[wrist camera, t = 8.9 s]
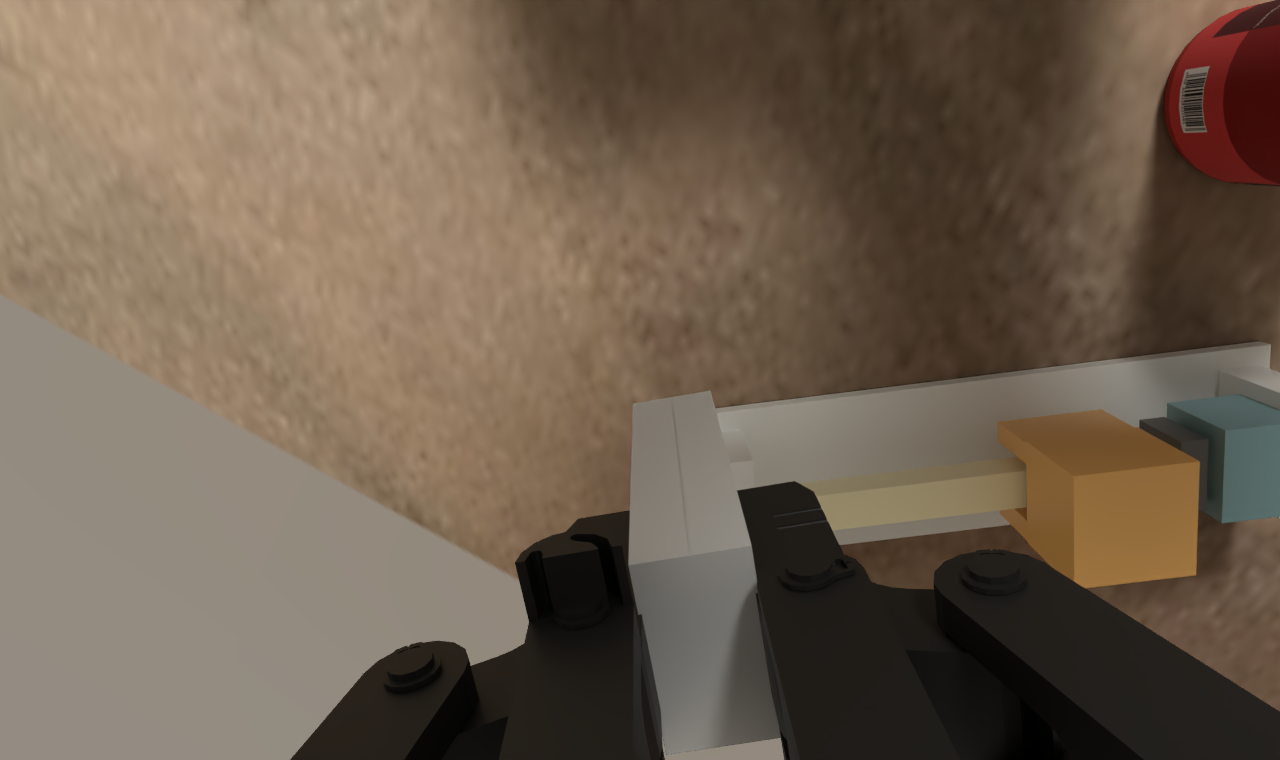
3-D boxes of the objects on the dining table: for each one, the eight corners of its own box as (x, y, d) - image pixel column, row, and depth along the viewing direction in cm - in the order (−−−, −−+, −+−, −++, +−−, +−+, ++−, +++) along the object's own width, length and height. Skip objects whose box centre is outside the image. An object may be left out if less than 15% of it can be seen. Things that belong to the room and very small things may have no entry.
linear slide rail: (688, 411, 46) (697, 455, 39) (1259, 341, 45) (1367, 373, 38) (704, 554, 48) (716, 619, 41) (1252, 488, 47) (1353, 544, 40)
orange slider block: (997, 419, 43) (1073, 476, 36) (1101, 407, 43) (1199, 461, 36) (999, 515, 44) (1074, 589, 37) (1100, 503, 44) (1196, 575, 37)
